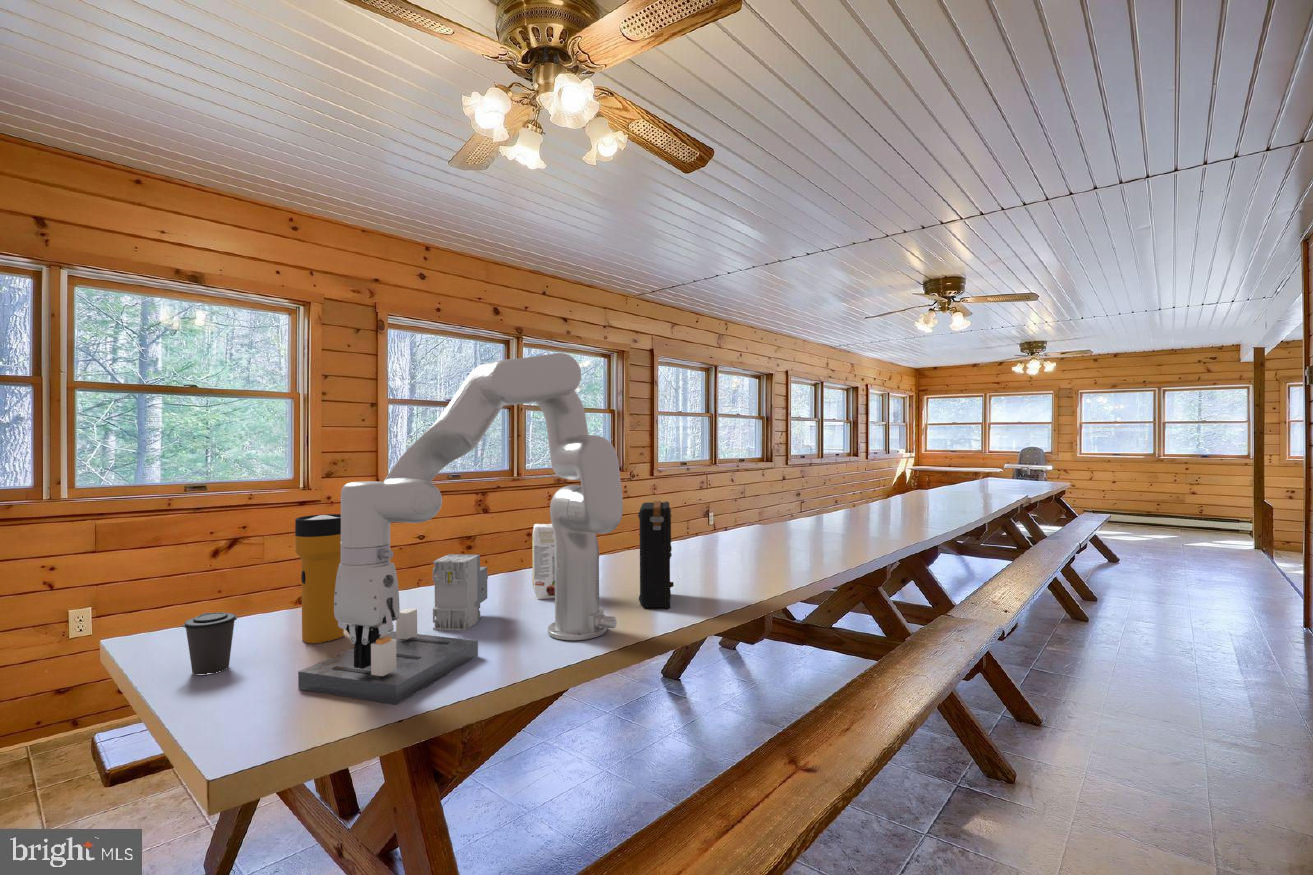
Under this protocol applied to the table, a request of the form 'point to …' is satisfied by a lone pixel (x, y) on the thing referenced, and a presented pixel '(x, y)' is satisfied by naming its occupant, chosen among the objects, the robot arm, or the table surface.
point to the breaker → (406, 624)
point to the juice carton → (543, 561)
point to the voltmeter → (655, 554)
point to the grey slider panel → (414, 671)
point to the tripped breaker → (383, 656)
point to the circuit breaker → (458, 591)
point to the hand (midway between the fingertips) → (365, 665)
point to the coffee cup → (210, 641)
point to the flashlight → (319, 574)
